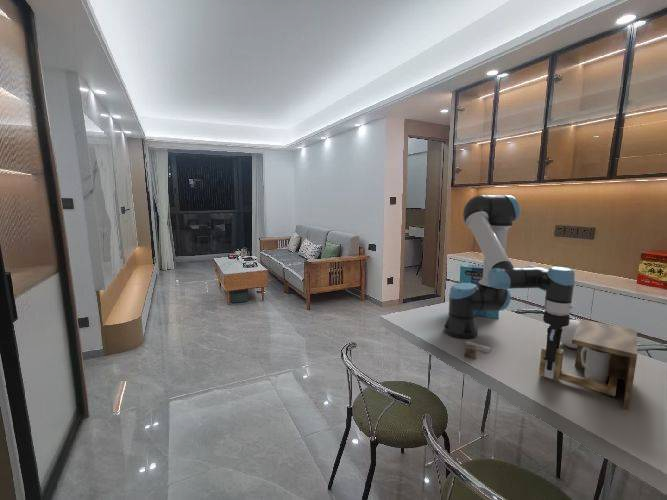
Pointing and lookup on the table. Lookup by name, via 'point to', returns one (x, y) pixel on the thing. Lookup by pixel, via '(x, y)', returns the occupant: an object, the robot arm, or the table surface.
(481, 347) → the grey stick
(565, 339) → the decorative ball
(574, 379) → the wooden u-shaped rack
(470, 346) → the walnut cube
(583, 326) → the shelf
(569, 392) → the table surface
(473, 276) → the game box
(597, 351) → the mug
